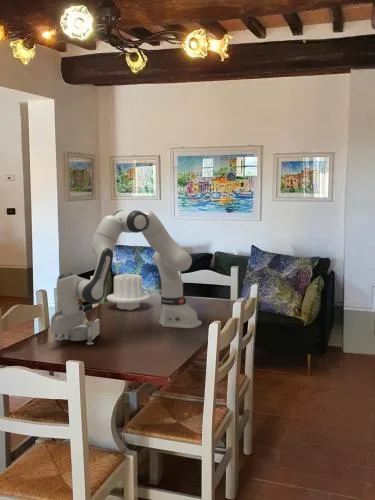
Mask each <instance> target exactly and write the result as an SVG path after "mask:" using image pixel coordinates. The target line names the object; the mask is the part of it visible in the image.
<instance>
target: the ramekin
mask: <svg viewBox="0 0 375 500" xmlns="http://www.w3.org/2000/svg"><path fill="white" fill-rule="evenodd" d="M67 333H68V332H67ZM69 340H70V341H73V342H80V341H82V342H83V341H85V340H87V325H80V326H77V327H75V328H73V332H72V338H70V339H69Z"/></svg>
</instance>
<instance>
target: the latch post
mask: <svg viewBox="0 0 375 500" xmlns="http://www.w3.org/2000/svg"><path fill="white" fill-rule="evenodd" d="M56 335H57V337H55V338H54V339H53V341H55V340H56V341H63V340H66V339H65V338H64V334H63V332H61V333H59V334H56Z"/></svg>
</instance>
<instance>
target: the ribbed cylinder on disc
mask: <svg viewBox="0 0 375 500" xmlns="http://www.w3.org/2000/svg"><path fill="white" fill-rule="evenodd" d="M150 297H151V295H150V294H148V293H144V292H143V276H141V275H140V274H137V273H123V274H116V275H115V276H114V277H113V293H111V294H108V295H107V296H106V300H107V301H108V302H112V303H116V309H117V308H119V309H118V310H125V309H126V311H127V310H128V311H132V310H134V309H138V308H140V307H141V306H140V305H141V304H140V303H142V302H145V301H149V300H150Z"/></svg>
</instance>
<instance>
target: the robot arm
mask: <svg viewBox="0 0 375 500" xmlns="http://www.w3.org/2000/svg"><path fill="white" fill-rule="evenodd" d="M122 233H128V234H131V233H135V234H138V233H141V234H142V235H143V237H144V238H145V240H146V241H147V243H148V245H149V246H150V247H151V249H153V250H154V253H153V262H154V264H155V265H156V267H157V270H158V273H159V276H160V283H161V297H160V306H161V309H160V310H161V311H160V316H159V321H158V324H159V325H161V326H162V327H165V328H180V329H194V328H198V327H200V326H201V325H202V323H203V322H202V320H201V319H198V314H197V312H196V310H195V309H194V308H192V307H191V306H190V305H189V304H188V303H187V301H188V297H185V295H184V281H183V279H182V277H181V276H180V273H179V272H185V271H188V270H189V269H190V267H191V265H192V264H193V263H192V262H193V259H192V255H190V253H188V252H187V251H186V250H184V249H183V248H182V247H181V245H179V244H178V243H177V242H176V241H175V239H173V238H172V237H171V235H170V234H169V232H168V231H167V229H166V227H165V225H164V224H163V223H162V221H161V220H160V219H159V217H158V216H157V215H156V214H155V213H154V212H153V211H152V210H149V209H145V210H143V211H140V210H137V209H136V210H133V209H121V210H118V211H116V212H114V213H113V214H110V215H109V214H108V215H105V216H104V217H103V218H102V220H101V221H100V223H99V224H98V226H97V228H96V229H95V232H94V234H93V236H92V239H91V244H90V246H91V247H90V248H91V250H92V252H93V253H94V254H95V256H96V257H97V262H96V263H97V264H96V267H95V270H94V273H93V276H92V278H91V279H87V278H84V277H80V276H78V275H76V274H75V273H73V272H65V273H62V274H60V275H59V276H58V277H57V279H56V297H57V301H56V311H57V312H54V313H53V314H52V316H51V318H50V325H49V327H50V329H49V331H50V333H51V334H52V335H57V334H59V333H61V332H63V334H64V335H63V337H64V338H65V339H64V340H70V338H72V332H73V328H75V327H77V326H80V325H82V324H83V323H84V313H85V312H84V310H85V306H84V305H79V303H78V302H77V301H78V299H81V300H83V302H86V303H87V304H88V303H89V304H91V305H96V304H98V303H100V302H101V301H102V300H103V299H104V297H105V294H106V284H107V280H108V277H109V273H110V271H111V267H112V264H113V263H112V262H113V259H114V251H115V248H116V244H117V243H118V240H119V237H120V235H122ZM67 332H68V333H67Z"/></svg>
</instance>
